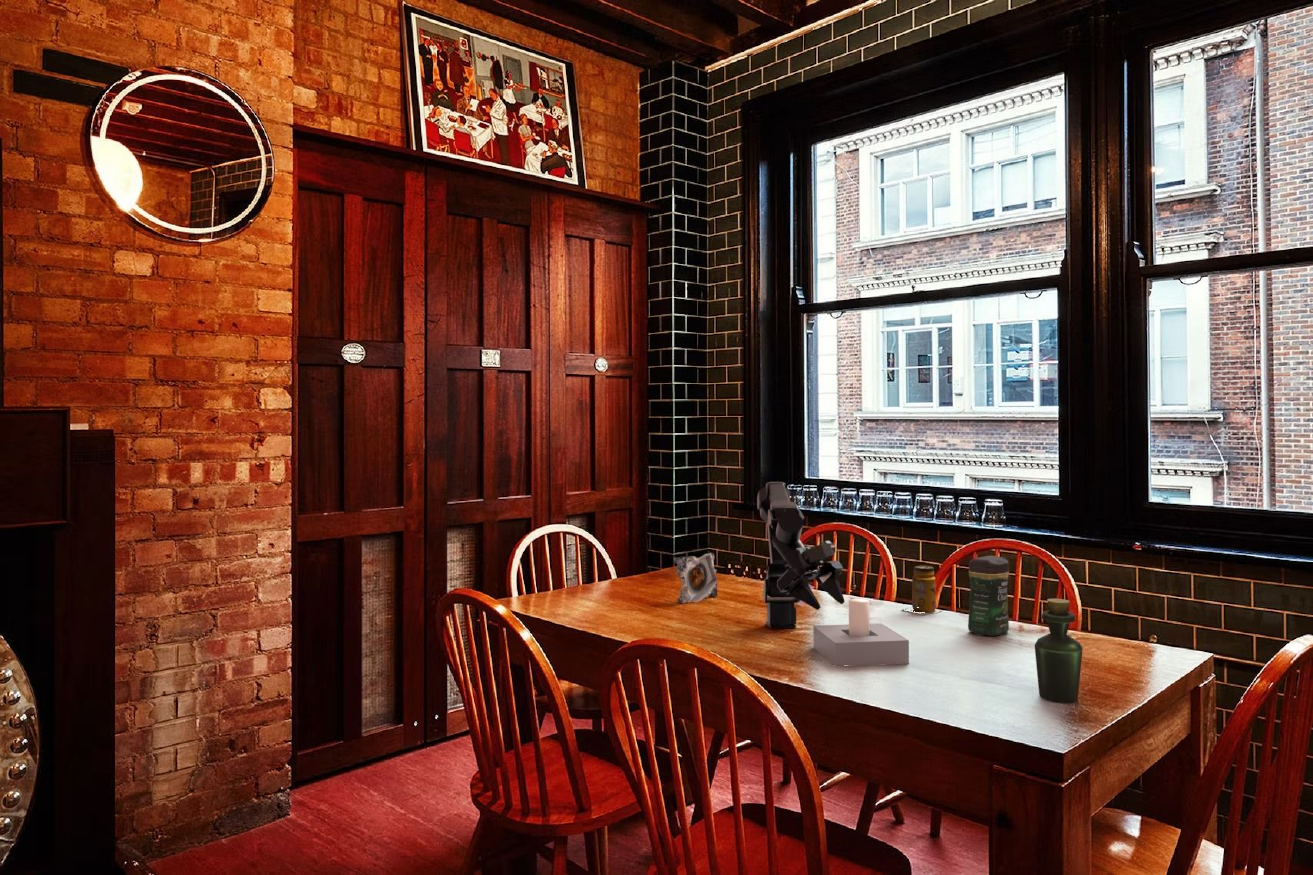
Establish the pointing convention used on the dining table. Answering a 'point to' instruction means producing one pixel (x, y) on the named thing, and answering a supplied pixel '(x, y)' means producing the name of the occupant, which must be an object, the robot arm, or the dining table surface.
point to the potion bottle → (1058, 656)
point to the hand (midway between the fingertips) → (831, 605)
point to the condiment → (923, 590)
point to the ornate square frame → (696, 577)
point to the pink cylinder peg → (859, 617)
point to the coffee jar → (988, 596)
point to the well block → (860, 645)
